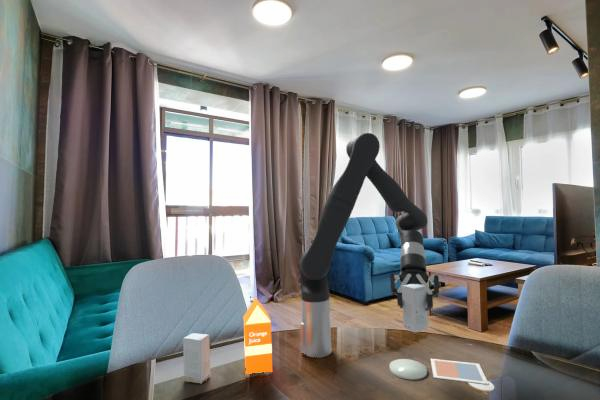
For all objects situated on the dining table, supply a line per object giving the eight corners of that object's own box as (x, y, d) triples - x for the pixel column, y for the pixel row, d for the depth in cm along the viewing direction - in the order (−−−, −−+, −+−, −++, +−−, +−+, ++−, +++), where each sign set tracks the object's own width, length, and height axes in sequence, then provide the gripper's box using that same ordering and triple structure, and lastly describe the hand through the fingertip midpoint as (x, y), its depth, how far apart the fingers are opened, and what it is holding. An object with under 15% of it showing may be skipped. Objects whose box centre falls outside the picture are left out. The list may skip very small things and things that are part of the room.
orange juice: (245, 378, 87) (243, 305, 87) (244, 363, 95) (242, 297, 96) (273, 374, 88) (271, 303, 89) (269, 360, 97) (267, 295, 98)
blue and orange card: (433, 377, 83) (433, 377, 83) (430, 359, 94) (430, 358, 94) (488, 384, 79) (488, 383, 79) (479, 364, 89) (479, 363, 89)
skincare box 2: (415, 333, 84) (414, 288, 85) (402, 328, 88) (400, 285, 89) (429, 328, 88) (427, 285, 88) (416, 323, 91) (414, 282, 92)
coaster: (388, 376, 85) (388, 373, 85) (390, 360, 94) (390, 357, 94) (428, 381, 81) (428, 378, 81) (425, 364, 91) (425, 361, 91)
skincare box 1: (211, 377, 88) (210, 334, 88) (201, 385, 84) (200, 340, 84) (193, 374, 90) (192, 332, 90) (183, 382, 86) (182, 338, 86)
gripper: (388, 251, 98) (387, 299, 87) (438, 252, 93) (443, 303, 82) (390, 265, 103) (389, 312, 91) (437, 267, 98) (442, 317, 87)
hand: (415, 308), depth 87 cm, fingers closed on skincare box 2, 6 cm apart
